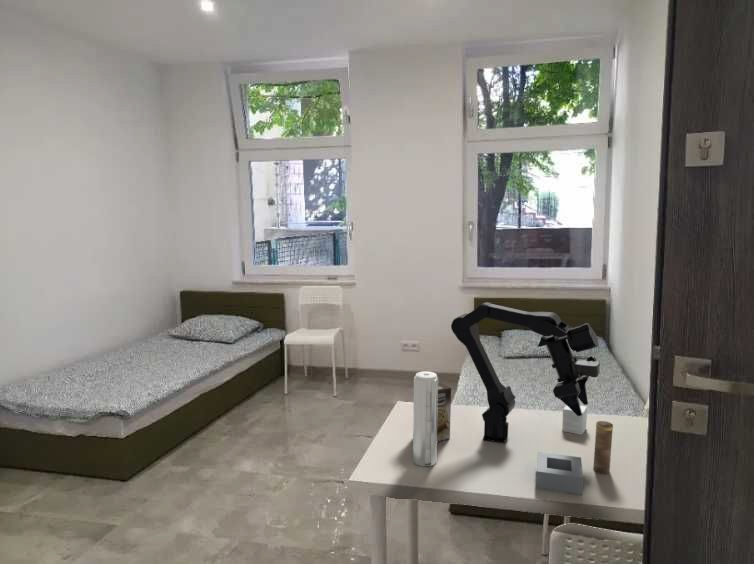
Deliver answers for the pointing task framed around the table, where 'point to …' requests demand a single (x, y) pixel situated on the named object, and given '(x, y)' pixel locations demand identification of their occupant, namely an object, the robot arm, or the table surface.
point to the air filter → (425, 418)
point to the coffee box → (443, 412)
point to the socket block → (559, 473)
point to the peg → (603, 447)
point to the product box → (574, 420)
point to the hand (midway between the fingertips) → (583, 409)
